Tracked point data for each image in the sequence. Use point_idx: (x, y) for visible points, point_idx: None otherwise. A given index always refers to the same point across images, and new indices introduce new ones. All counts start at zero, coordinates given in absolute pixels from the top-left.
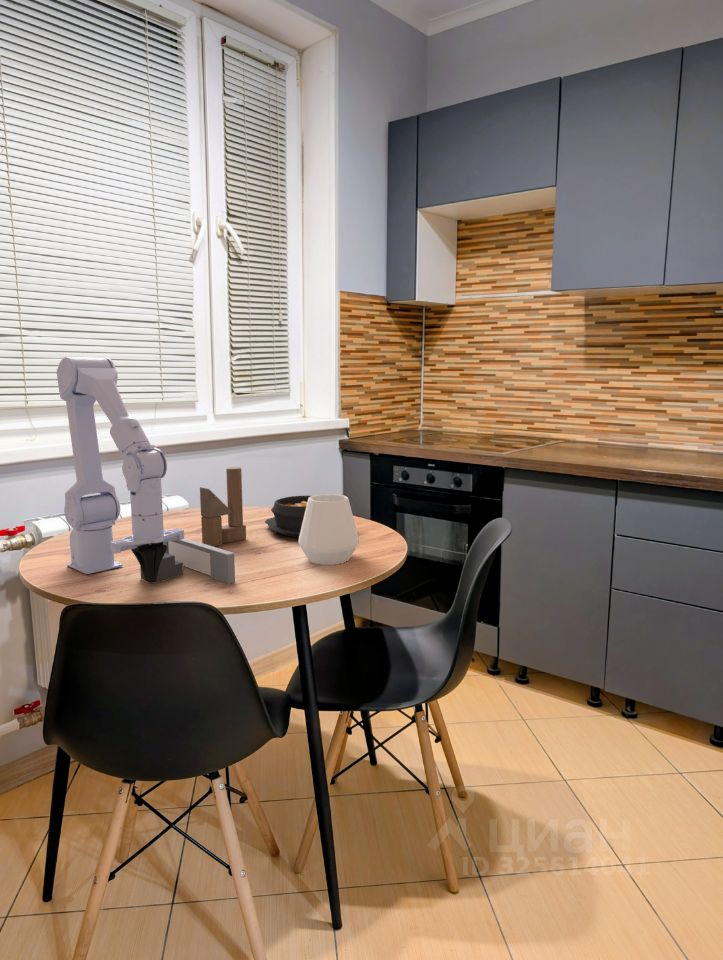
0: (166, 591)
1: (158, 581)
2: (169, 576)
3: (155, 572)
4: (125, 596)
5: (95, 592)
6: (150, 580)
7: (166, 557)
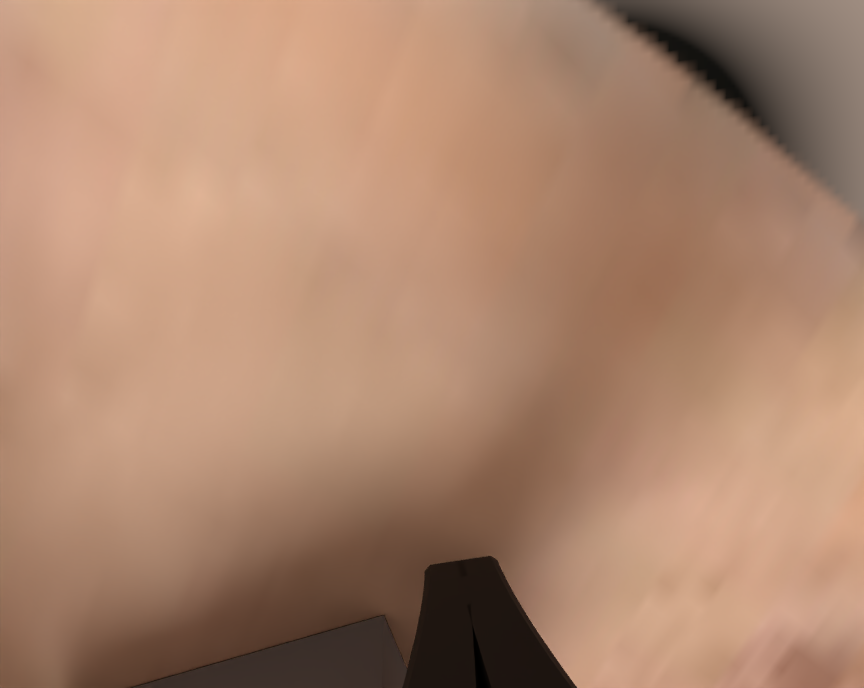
0: (401, 344)
1: (354, 631)
2: (218, 683)
3: (454, 649)
4: (768, 447)
5: (855, 663)
6: (503, 577)
7: None
